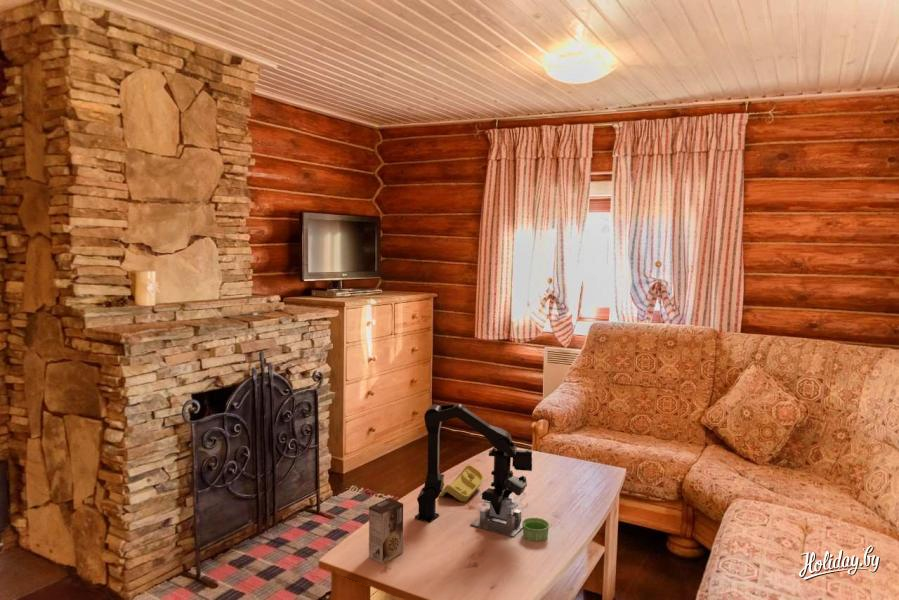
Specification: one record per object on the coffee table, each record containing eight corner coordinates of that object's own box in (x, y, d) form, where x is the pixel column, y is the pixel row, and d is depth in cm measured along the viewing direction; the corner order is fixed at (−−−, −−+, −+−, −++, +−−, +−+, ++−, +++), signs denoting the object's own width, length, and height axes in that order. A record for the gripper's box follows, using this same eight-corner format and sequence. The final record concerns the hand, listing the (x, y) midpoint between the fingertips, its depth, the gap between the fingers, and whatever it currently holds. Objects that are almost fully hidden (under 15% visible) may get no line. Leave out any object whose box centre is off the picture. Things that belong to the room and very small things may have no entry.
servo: (512, 521, 208) (513, 502, 207) (483, 513, 213) (484, 494, 212) (517, 517, 211) (518, 498, 210) (488, 509, 216) (489, 491, 216)
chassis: (513, 537, 202) (513, 524, 202) (470, 525, 210) (470, 512, 210) (529, 521, 214) (530, 508, 214) (488, 510, 222) (488, 498, 222)
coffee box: (388, 546, 195) (389, 497, 193) (403, 553, 191) (404, 502, 189) (367, 557, 188) (368, 506, 186) (382, 564, 184) (383, 512, 182)
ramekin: (552, 534, 205) (553, 521, 205) (542, 545, 198) (543, 532, 197) (528, 527, 210) (528, 515, 209) (517, 538, 202) (517, 525, 202)
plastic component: (466, 498, 227) (445, 482, 230) (459, 512, 230) (437, 497, 233) (487, 476, 245) (466, 462, 248) (479, 490, 247) (459, 475, 250)
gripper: (512, 482, 198) (510, 528, 200) (534, 464, 214) (532, 507, 216) (481, 475, 204) (480, 520, 205) (505, 458, 220) (503, 500, 221)
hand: (500, 512), depth 212 cm, fingers closed on servo, 4 cm apart
